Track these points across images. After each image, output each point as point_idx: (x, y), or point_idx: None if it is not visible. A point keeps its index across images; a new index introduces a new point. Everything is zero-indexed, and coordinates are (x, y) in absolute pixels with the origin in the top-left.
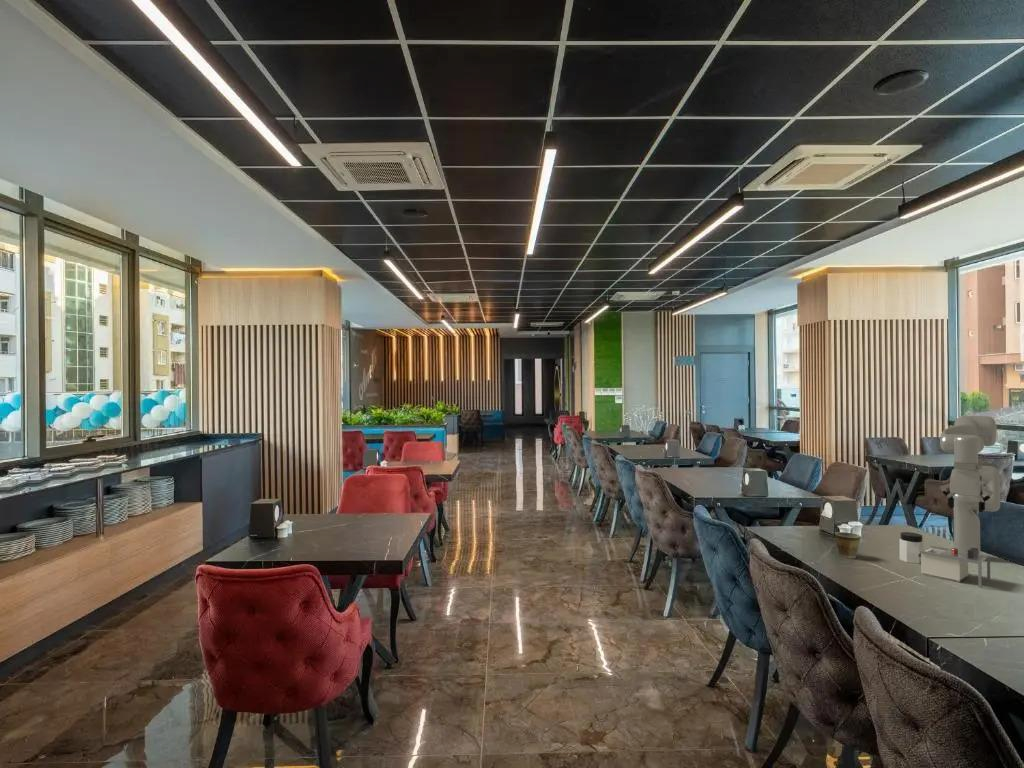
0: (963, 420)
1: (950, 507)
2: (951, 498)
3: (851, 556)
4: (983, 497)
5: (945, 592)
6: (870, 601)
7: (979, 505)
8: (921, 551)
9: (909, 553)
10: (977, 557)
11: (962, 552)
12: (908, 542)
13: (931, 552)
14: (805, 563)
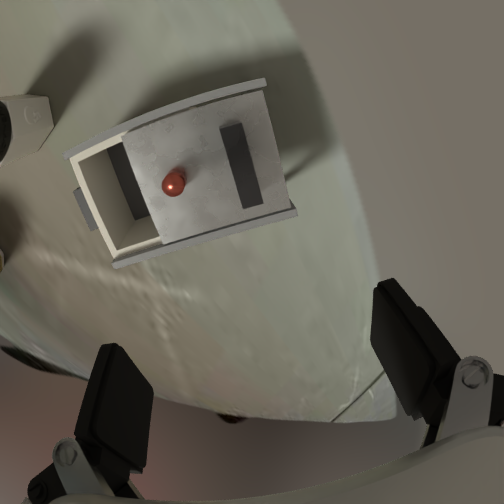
0: None
1: (148, 396)
2: (129, 464)
3: (2, 263)
4: (481, 414)
5: (257, 301)
6: (233, 413)
7: (401, 389)
8: (117, 268)
9: (25, 151)
10: (258, 161)
11: (181, 136)
12: (2, 163)
13: (86, 167)
14: (44, 359)
